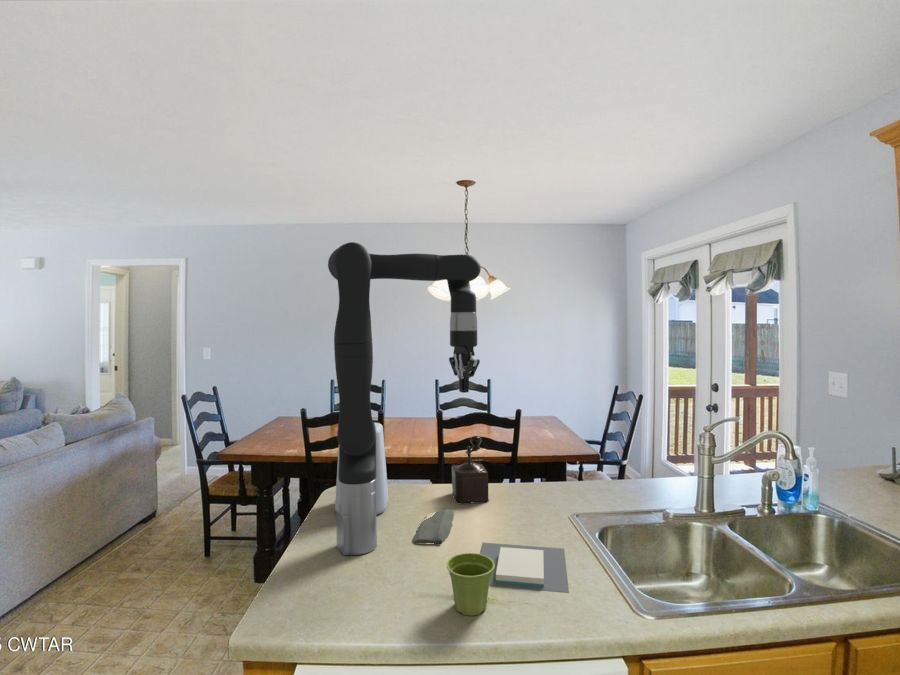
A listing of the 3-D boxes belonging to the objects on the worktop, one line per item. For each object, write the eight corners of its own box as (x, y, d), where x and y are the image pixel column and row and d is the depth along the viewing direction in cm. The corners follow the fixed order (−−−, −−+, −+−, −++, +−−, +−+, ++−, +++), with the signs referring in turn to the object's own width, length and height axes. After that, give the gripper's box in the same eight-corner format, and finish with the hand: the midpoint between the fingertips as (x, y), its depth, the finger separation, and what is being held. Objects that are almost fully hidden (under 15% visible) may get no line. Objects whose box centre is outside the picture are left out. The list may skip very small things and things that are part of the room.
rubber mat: (568, 596, 100) (568, 592, 100) (471, 587, 103) (471, 583, 103) (564, 551, 120) (564, 548, 119) (482, 545, 123) (482, 542, 123)
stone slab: (412, 550, 124) (451, 546, 124) (410, 539, 124) (449, 535, 124) (424, 517, 147) (457, 513, 146) (422, 508, 147) (455, 504, 146)
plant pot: (498, 620, 92) (498, 574, 92) (448, 623, 91) (448, 577, 91) (490, 593, 101) (490, 551, 101) (445, 595, 101) (444, 553, 100)
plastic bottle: (389, 498, 157) (388, 411, 156) (384, 516, 142) (383, 420, 141) (342, 499, 157) (341, 412, 156) (332, 517, 142) (331, 421, 141)
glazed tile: (543, 557, 115) (543, 587, 102) (500, 554, 117) (495, 582, 104) (543, 550, 115) (543, 578, 102) (500, 547, 117) (495, 574, 104)
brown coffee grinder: (491, 502, 153) (491, 445, 153) (456, 504, 152) (456, 446, 151) (480, 486, 169) (480, 434, 168) (449, 488, 167) (448, 435, 167)
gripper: (488, 329, 131) (488, 394, 131) (462, 329, 142) (463, 388, 143) (464, 329, 127) (464, 396, 127) (440, 329, 138) (440, 390, 139)
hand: (463, 392), depth 135 cm, fingers closed
